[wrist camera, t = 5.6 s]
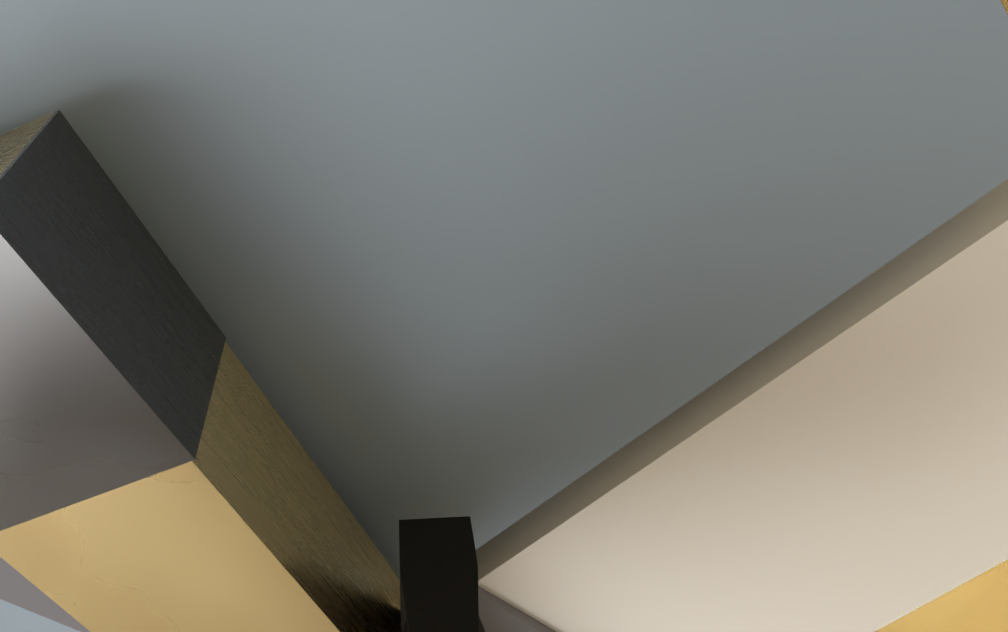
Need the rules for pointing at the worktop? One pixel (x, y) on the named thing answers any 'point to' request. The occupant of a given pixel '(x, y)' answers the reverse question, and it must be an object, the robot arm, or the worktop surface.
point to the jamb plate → (798, 471)
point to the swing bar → (150, 432)
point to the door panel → (509, 206)
